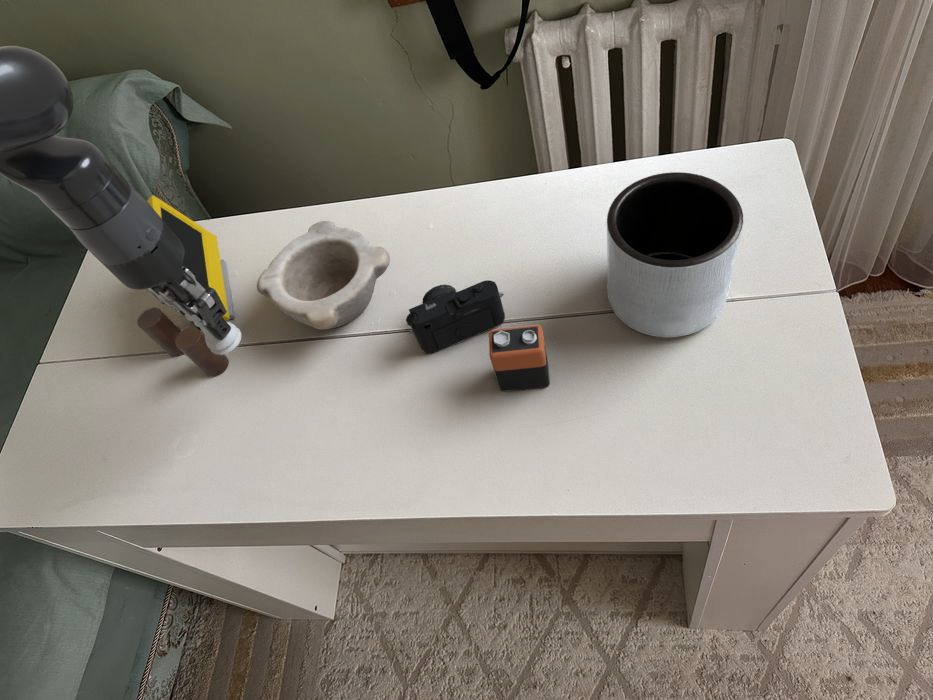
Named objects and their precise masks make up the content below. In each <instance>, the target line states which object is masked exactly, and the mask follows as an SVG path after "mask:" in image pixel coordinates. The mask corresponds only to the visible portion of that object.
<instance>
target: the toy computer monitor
mask: <svg viewBox="0 0 933 700" xmlns="http://www.w3.org/2000/svg"><path fill="white" fill-rule="evenodd" d="M146 201H147V202H148V203H149V204H150V205H151V207H152V208H153V209H154V210H155V211H156V213H157V214H158V215H159V216H160V217H161V219H162V220H163V221H164V222H165V223H166V225H167V226H168V227H169V228H170V229H171V231H172V232H173V233H174V234H175V235H176V236H177V238H178V239H179V240H180V241H181V243H182V244H183V247H184V258H183V263H182V267H183V266H184V267H186V268H187V269H188V270H189V271H190V272H191V273H192V274H193V275H194V276H195V279H196V281H197V282H198V283H199V284H200V285H201V286H202V287H203V288H204V289H205V290H206V289H207V288H208V287H211V288H213V289H215V290H216V292H217V293H218V295H219V297H220V299H221V301H222V303H223V305H224V307H225V309H226V311H227V313H226V314H225V315H223V318H224V320H225V321H226V322H229V321H230V320H232V319H235V318H236V313H235V309H234V301H233V296H232V290H231V289H232V288H231V284H230V279H229V278H230V277H229V272H228V266H227V261H226V260H225V259H224V258H223V259H221V256H220V250H219V243H218V237H217V236H216V235H215V234H213V233H212V232H211V231H209V230H208V229H206V228H204V227H203V226H202V225H200V224H198V223H197V222H195V221H194V220H192V219H191V218H189V217H188V216H187V215H184V214H183V213H181V212H180V211H178V210H177V209H175V208H174V207H172V206H171V205H169V204H168V203H166V202H165V201H163V200H162V199H160V198H159V197H157V196H155V195H150V197H148V198H147V199H146ZM188 324H189V327H190V326H193V325H192V324H191V323H190V322H189V321H188Z"/></svg>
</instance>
